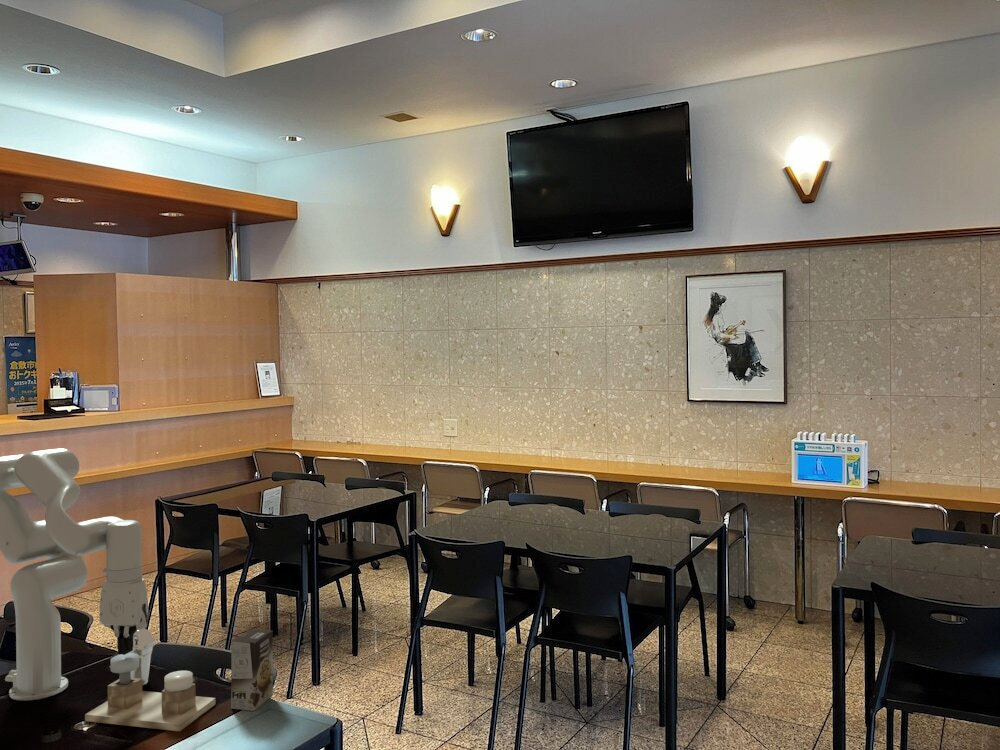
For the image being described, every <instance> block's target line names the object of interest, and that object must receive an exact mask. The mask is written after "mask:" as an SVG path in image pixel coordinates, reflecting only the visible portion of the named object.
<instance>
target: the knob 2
mask: <svg viewBox="0 0 1000 750" xmlns="http://www.w3.org/2000/svg"><path fill="white" fill-rule="evenodd" d="M193 675H194V673H193V672H192V671H190V670H177V671H172V672H169V673H168V674H166V675H165V676H164V689H165V690H167V691H173V692H174V691H182V690H185V689H188V688H190V687H191V686H192V685H193V684H194V682H193V680H194V679H193Z"/></svg>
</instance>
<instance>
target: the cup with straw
mask: <svg viewBox="0 0 1000 750" xmlns="http://www.w3.org/2000/svg"><path fill="white" fill-rule="evenodd" d="M137 624H138V623H137ZM156 644H157V641H156V637H154V636H153V634H152V633H151V631H150V630H149V629H146V627H145V628H143V629H140V630H137V631H136V633H135V634H133V650H132V651H131V652H129V653H135V654H138V655H139V667H138V668H137V669H136V670H133V671H131V678H140V679H142V686H144V685H147V684H148V683H149V676H150V675H149V674H150V668H151V665H150V664H151V659H152V653H153V649H154V646H155V645H156Z"/></svg>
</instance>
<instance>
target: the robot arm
mask: <svg viewBox="0 0 1000 750" xmlns="http://www.w3.org/2000/svg"><path fill="white" fill-rule="evenodd" d="M79 471H80V461H79V459H78V457H77V455H76V454H75V453H74V452H73V451H71V450H69V449H67V448H63V447H61V448H48V449H42V450H34V451H30V452H27V453H21V454H20V453H19V454H13V455H0V552H1V554H2V555H3V557H4V559H5V560H6V561H7V562H8V563H10V564H17V565H19V564H24V563H29V562H32V563H30V564H28V565H26V566H23V567H21V568H20V569H18V570H17V571H15V573H14V574H13V576H12V578H11V580H10V591H11V596H12V601H13V604H14V605H13V606H14V611H15V613H14V614H15V636H16V637H15V638H16V639H15V640H16V641H15V647H16V648H15V650H16V653H15V654H16V655H15V657H16V658H15V659H16V665H15V666H16V669H11V670H9V672H8V674H7V675H6V676H5V678H4V680H5V682H9V683H10V682H11V683H12V687H11V688H10V689H9V691H8V696H9V697H10V698H11V699H12V700H14V701H15V700H16V701H23V702H24V701H36V700H41V699H42V700H43V699H46V698H49V697H51V696H52V697H53V696H56V695H57V694H59V693H62V692H64V690H66V689H67V688H68V686H69V679H68V678H67V677H65V676H62V639H61V638H62V635H61V634H62V632H61V631H62V629H61V626H62V625H61V614H60V612H59V610H58V608H57V607H56V606H55V605H54V603H53V602H52V600H53V599H56V598H58V597H61V596H64V595H68V594H70V593H74V592H76V591H78V590H80V589H82V588H83V587H84V586H85V584H86V583H87V580H88V576H89V575H88V568H87V564H86V561H85V560H84V558H83V556H85V555H88V554H91V553H95V552H96V553H97V552H100V551H103V550H106V551H105V552H106V557H105V558H106V560H105V561H106V562H105V563H106V564H105V565H106V567H105V568H104V569H103V570H102V571H103V572H102V573H103V574H104V575H106V580H103V582H102V583H103V584H102V586H101V590H100V597H99V598H100V599H99V610H98V611H99V614H98V615H99V617H98V618H99V622H100V624H103V627H105V628H108V629H111V631H113V634H114V637H116V638H117V639H116V641H117V644H116V645H117V655H120V654H122V655H125V654H127V653H129V652H131V651H132V650H133V634H135V633H136V631H137V630H140V629H143V628H145V629H146V628H147V627H148V623H147V620H148V618H149V597H148V590H147V585H146V581H145V578H143V542H142V541H143V535H142V534H143V533H142V532H143V531H142V530H143V529H142V524H141V523H140V522H139V521H138V520H134V519H122V518H120V517H117V516H114V515H111V516H103V517H99V518H92V519H89V520H83V521H79V522H76V521H75V520H73V518H72V517H71V516H70V515H69V514H68V513H67V512H66V511H67V510H68V509H70V508H71V507H72V506H73V505H74V504H75V503H76V502H77V501H78V499H79V497H80V496H81V487H80V484H79V483H78V482H77V481H76V480H75V479H74V478H75V477H76V476H77V475H78V473H79ZM25 487H26V488H27V489H28V490H29V491H30V493H32V494H33V496H34V497H36V499H37V500H39V502H41V504H43V506H44V507H45V508H46V509H45V511H44V512H45V513H44V519H42V520H33V519H32V518H31V516H30V515H29V513H28V511H27V508H26V507H25V505H24V504H23V503H22V502H21V500H19V499H18V498H16V497H15V496H13V495H12V494H10V493H8V492H7V490H12V489H19V488H25ZM44 558H46V560H42V561H38V562H34V563H33V561H37V560H41V559H44ZM137 623H138V624H137Z"/></svg>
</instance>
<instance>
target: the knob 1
mask: <svg viewBox="0 0 1000 750" xmlns="http://www.w3.org/2000/svg"><path fill="white" fill-rule="evenodd" d="M138 667H139V655H138V654H135V653H127V654H125V655H122V654H117V655H115V656H113V657H111V658H110V672H112V673H114V674H118V675H119V678H118V679H119V685H128V684H130V683H131V671H133V670H136V669H137V668H138Z"/></svg>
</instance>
